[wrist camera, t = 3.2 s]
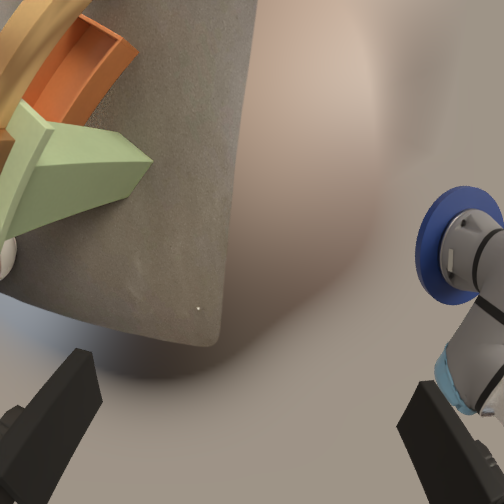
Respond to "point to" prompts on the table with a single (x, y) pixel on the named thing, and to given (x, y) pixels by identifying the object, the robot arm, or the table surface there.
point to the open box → (78, 72)
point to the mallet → (29, 52)
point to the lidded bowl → (7, 257)
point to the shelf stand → (62, 171)
